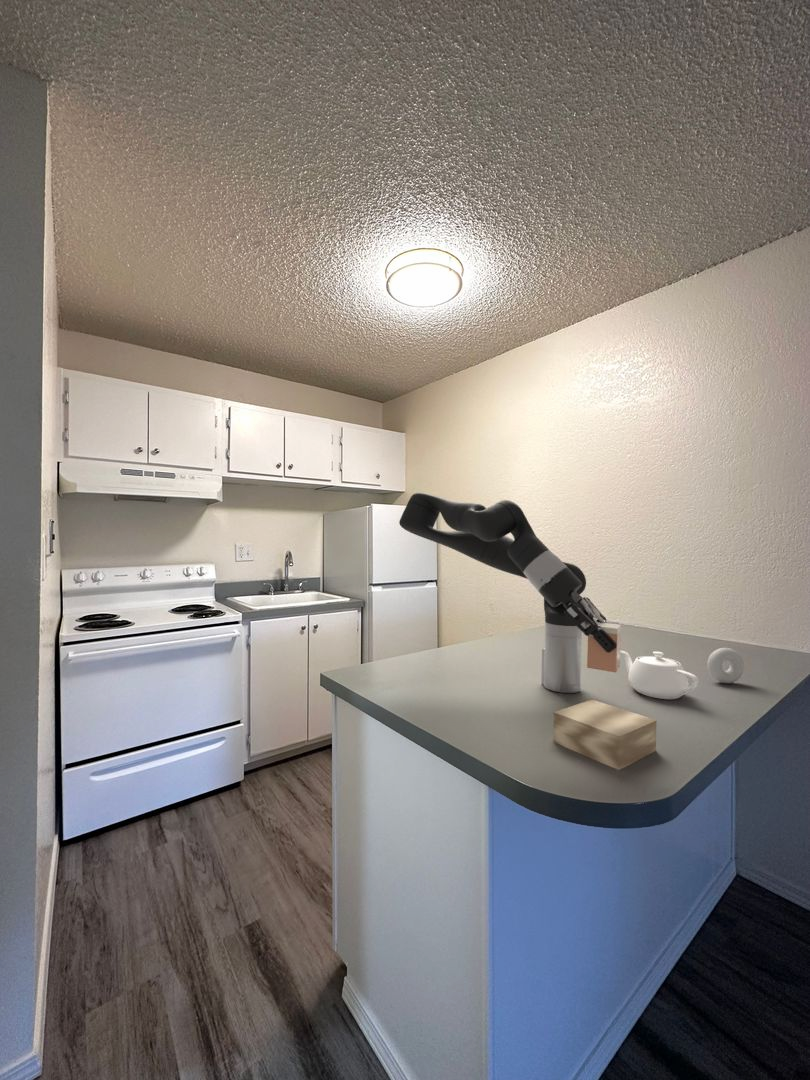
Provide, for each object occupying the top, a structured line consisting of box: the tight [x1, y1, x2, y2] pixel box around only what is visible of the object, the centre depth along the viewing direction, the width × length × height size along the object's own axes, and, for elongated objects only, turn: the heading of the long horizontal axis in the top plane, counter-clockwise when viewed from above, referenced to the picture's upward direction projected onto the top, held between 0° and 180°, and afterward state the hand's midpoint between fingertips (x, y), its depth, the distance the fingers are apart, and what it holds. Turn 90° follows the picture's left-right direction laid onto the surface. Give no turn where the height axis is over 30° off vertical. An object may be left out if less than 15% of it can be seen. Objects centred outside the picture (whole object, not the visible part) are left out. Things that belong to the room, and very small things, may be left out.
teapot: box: [620, 650, 699, 700], centre depth 118 cm, size 22×14×11 cm, turn 24°
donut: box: [706, 647, 746, 684], centre depth 127 cm, size 10×4×10 cm, turn 92°
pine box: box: [552, 699, 657, 771], centre depth 85 cm, size 13×13×6 cm
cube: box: [586, 622, 622, 674], centre depth 85 cm, size 5×5×8 cm
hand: (614, 646), depth 84 cm, fingers closed on cube, 5 cm apart
